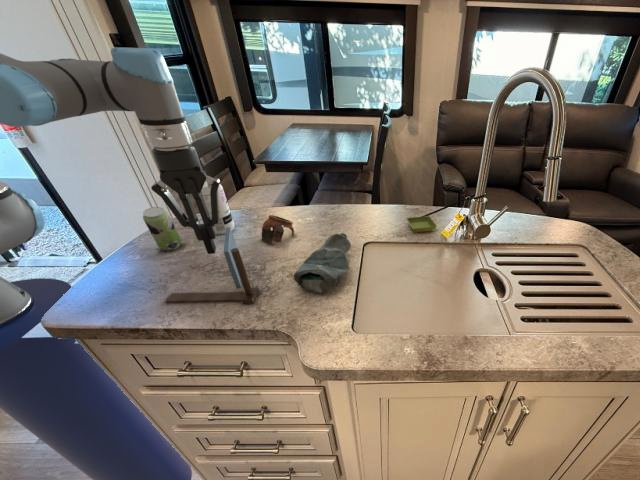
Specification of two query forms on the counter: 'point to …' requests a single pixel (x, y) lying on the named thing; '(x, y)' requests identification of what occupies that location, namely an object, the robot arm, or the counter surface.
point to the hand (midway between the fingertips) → (212, 250)
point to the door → (228, 247)
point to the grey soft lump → (325, 265)
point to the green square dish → (421, 223)
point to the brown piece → (275, 229)
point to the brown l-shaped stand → (245, 297)
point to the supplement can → (224, 210)
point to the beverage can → (162, 228)
